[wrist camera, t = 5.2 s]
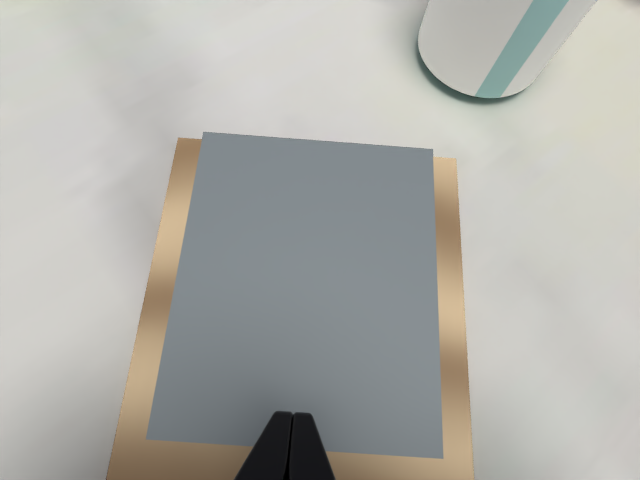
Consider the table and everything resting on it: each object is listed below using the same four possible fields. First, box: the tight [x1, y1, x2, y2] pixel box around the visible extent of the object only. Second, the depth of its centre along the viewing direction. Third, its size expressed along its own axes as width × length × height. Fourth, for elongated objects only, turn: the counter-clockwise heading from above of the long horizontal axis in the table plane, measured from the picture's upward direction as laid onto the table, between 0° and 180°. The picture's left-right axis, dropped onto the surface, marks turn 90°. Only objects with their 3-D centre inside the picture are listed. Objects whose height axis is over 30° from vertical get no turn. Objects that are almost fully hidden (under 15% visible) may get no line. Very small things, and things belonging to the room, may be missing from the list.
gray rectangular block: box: [146, 132, 443, 459], centre depth 16 cm, size 2×10×12 cm
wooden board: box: [106, 138, 474, 480], centre depth 17 cm, size 18×14×1 cm
